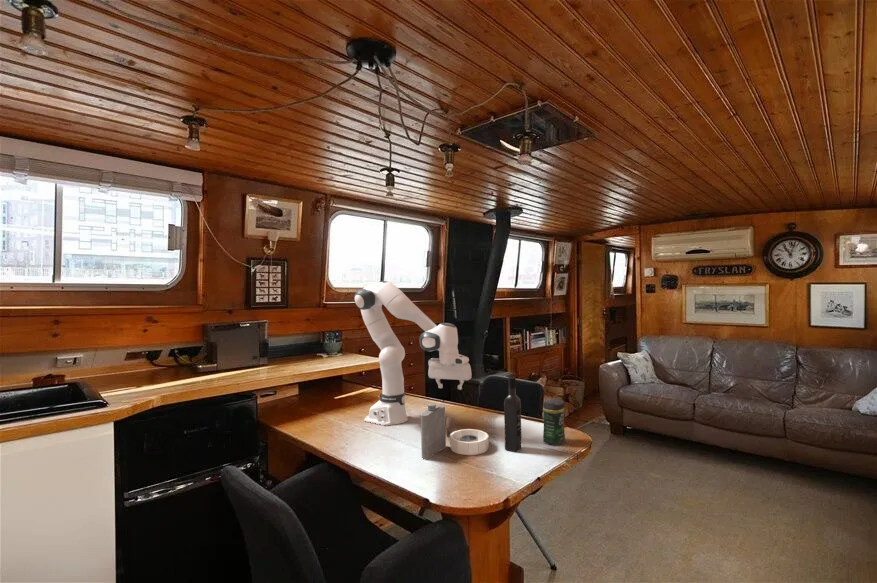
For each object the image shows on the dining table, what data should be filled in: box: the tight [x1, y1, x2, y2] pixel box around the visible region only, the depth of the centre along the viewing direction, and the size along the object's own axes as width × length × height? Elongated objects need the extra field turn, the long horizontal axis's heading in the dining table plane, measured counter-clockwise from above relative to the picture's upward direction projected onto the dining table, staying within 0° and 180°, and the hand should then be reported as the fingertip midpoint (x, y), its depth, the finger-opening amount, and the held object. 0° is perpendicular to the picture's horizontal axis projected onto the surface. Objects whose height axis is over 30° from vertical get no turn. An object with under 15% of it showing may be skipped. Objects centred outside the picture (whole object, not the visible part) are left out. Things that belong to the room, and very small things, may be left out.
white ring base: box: [449, 428, 490, 456], centre depth 178 cm, size 16×16×5 cm
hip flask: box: [420, 402, 447, 460], centre depth 174 cm, size 16×4×20 cm, turn 148°
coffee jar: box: [542, 397, 566, 446], centre depth 182 cm, size 10×8×19 cm
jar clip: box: [460, 435, 478, 442], centre depth 178 cm, size 7×7×3 cm
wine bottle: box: [503, 376, 522, 453], centre depth 175 cm, size 6×6×30 cm
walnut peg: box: [445, 417, 456, 439], centre depth 192 cm, size 4×4×8 cm
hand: (450, 388), depth 192 cm, fingers open, 8 cm apart
